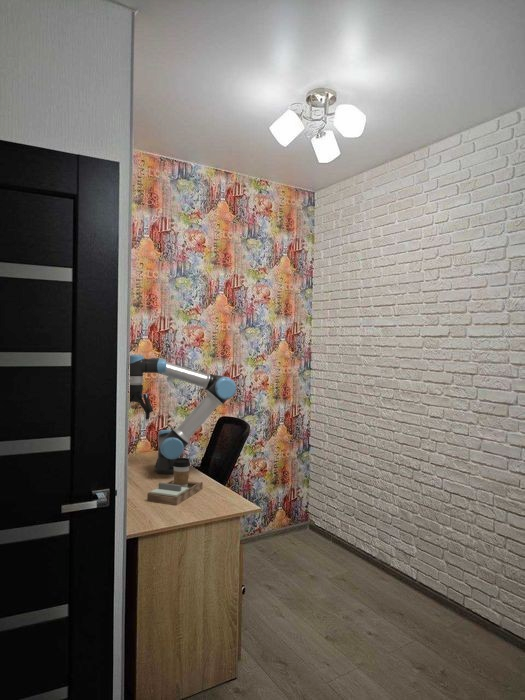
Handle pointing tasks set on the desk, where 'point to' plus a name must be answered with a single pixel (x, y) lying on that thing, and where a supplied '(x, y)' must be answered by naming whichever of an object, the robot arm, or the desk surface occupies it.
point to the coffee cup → (181, 471)
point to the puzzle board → (193, 489)
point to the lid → (169, 489)
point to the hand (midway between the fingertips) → (134, 424)
